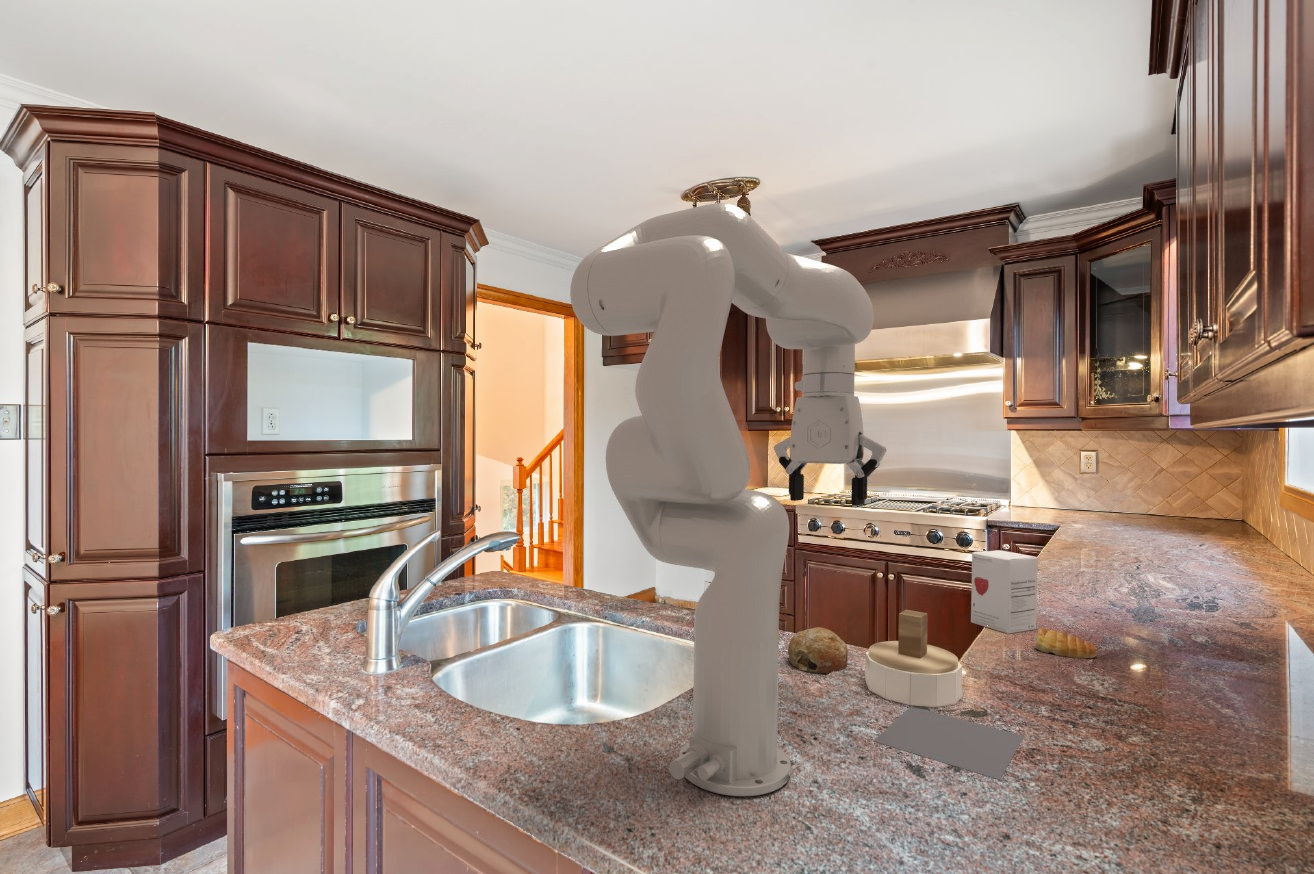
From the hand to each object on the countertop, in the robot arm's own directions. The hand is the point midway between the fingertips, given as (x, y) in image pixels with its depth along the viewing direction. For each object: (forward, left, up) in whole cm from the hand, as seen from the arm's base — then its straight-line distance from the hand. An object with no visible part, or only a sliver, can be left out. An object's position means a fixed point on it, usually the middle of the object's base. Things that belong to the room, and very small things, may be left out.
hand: (826, 502), depth 97 cm
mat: (-5, -19, -28) cm, 34 cm away
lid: (+9, -10, -23) cm, 27 cm away
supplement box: (+59, -12, -29) cm, 67 cm away
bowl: (+9, -10, -28) cm, 31 cm away
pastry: (+48, -24, -29) cm, 61 cm away
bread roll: (+12, +6, -29) cm, 32 cm away
